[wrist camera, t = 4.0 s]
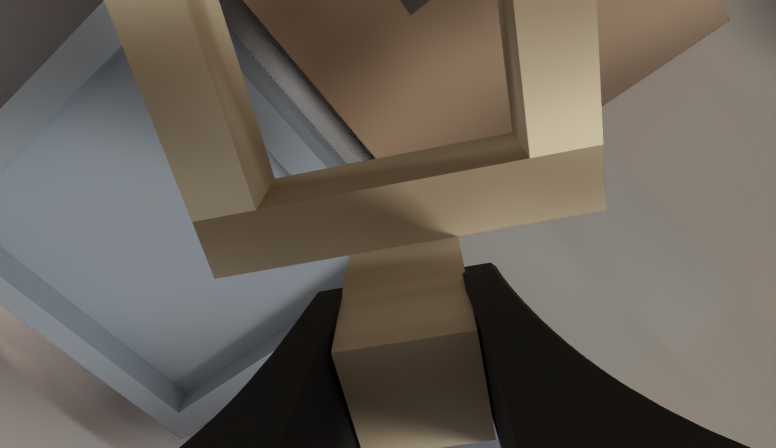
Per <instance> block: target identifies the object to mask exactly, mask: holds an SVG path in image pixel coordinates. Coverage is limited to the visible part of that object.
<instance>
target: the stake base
mask: <svg viewBox="0 0 776 448" xmlns="http://www.w3.org/2000/svg"><path fill="white" fill-rule="evenodd" d="M243 1H244V2H245V4H246V5H247V6H248V7H249V8H250V10H251V11H252V12H253V13H254V14H255V15H256V17H257V18H258V19H259V20H260V21H261V23H262V24H263V25H264V26H265V27H266V29H267V30H268V31H269V32H270V33H271V35H272V36H273V37H274V38H275V39H276V40H277V42H278V43H279V44H280V45H281V46H282V48H283V49H284V50H285V51H286V52H287V54H288V55H289V56H290V57H291V58H292V59H293V61H294V62H295V63H296V64H297V65H298V67H299V68H300V69H301V70H302V71H303V73H304V74H305V75H306V76H307V77H308V78H309V80H310V81H311V82H312V83H313V84H314V86H315V87H316V88H317V89H318V90H319V92H320V93H321V94H322V95H323V96H324V97H325V99H326V100H327V101H328V102H329V103H330V105H331V106H332V107H333V108H334V109H335V111H336V112H337V113H338V114H339V115H340V117H341V118H342V119H343V120H344V121H345V122H346V124H347V125H348V126H349V127H350V128H351V130H352V131H353V132H354V133H355V134H356V136H357V137H358V138H359V139H360V140H361V141H362V143H363V144H364V145H365V146H366V147H367V149H368V150H369V151H370V152H371V153H372V155H373V156H374V157H375V158H376V159H377V158H382V157H388V156H393V155H398V154H403V153H408V152H413V151H419V150H424V149H429V148H434V147H439V146H444V145H449V144H455V143H460V142H465V141H470V140H475V139H480V138H485V137H491V136H496V135H501V134H506V133H511V132H512V124H511V116H510V107H509V99H508V90H507V82H506V73H505V65H504V56H503V48H502V39H501V31H500V22H499V14H498V5H497V0H243ZM597 19H598V41H599V62H600V84H601V105H602V106H603V105H605V104H606V103H608V102H609V101H611V100H612V99H614V98H615V97H616V96H618V95H619V94H621V93H622V92H624V91H625V90H627V89H628V88H630V87H631V86H633V85H634V84H636V83H637V82H639V81H640V80H642V79H643V78H645V77H646V76H648V75H649V74H651V73H652V72H654V71H655V70H657V69H658V68H660V67H661V66H663V65H664V64H666V63H667V62H669V61H670V60H672V59H673V58H675V57H676V56H678V55H679V54H681V53H682V52H684V51H685V50H687V49H688V48H690V47H691V46H693V45H694V44H696V43H697V42H699V41H700V40H702V39H703V38H705V37H706V36H708V35H709V34H711V33H712V32H714V31H715V30H717V29H718V28H720V27H721V26H723V25H724V24H725V23H727V22H728V21H730V20H729V17H728V15H727V13H726V11H725V9H724V7H723V5H722V3H721V0H597Z"/></svg>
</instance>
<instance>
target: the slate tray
mask: <svg viewBox="0 0 776 448" xmlns="http://www.w3.org/2000/svg"><path fill="white" fill-rule="evenodd" d="M227 28H228V27H227ZM228 31H229V34H230V37H231V40H232V43H233V47H234V50H235V53H236V56H237V59H238V63H239V66H240V69H241V72H242V75H243V78H244V82H245V85H246V88H247V91H248V94H249V97H250V101H251V104H252V107H253V110H254V113H255V117H256V120H257V123H258V126H259V129H260V132H261V136H262V139H263V142H264V145H265V148H266V151H267V155H268V158H269V161H270V164H271V167H272V171H273V174H274V177H275V178H280V177H285V176H290V175H295V174H300V173H305V172H310V171H316V170H321V169H326V168H331V167H336V166H341V165H346V163H345V161H344V160H343V159H342V158H341V157H340V156H339V155H338V153H337V152H336V151H335V150H334V149H333V148H332V146H331V145H330V144H329V143H328V142H327V141H326V140H325V138H324V137H323V136H322V135H321V134H320V133H319V132H318V130H317V129H316V128H315V127H314V126H313V125H312V124H311V122H310V121H309V120H308V119H307V118H306V117H305V115H304V114H303V113H302V112H301V111H300V110H299V109H298V107H297V106H296V105H295V104H294V103H293V102H292V101H291V99H290V98H289V97H288V96H287V95H286V94H285V93H284V91H283V90H282V89H281V88H280V87H279V86H278V84H277V83H276V82H275V81H274V80H273V79H272V78H271V76H270V75H269V74H268V73H267V72H266V71H265V70H264V68H263V67H262V66H261V65H260V64H259V63H258V62H257V60H256V59H255V58H254V57H253V56H252V55H251V53H250V52H249V51H248V50H247V49H246V48H245V47H244V45H243V44H242V43H241V42H240V41H239V40H238V39H237V37H236V36H235V35H234V34H233V33H232V32H231V31H230V29H229V28H228ZM348 258H349V255H348V256H342V257H337V258H331V259H325V260H320V261H314V262H308V263H303V264H297V265H291V266H286V267H280V268H274V269H268V270H263V271H257V272H251V273H246V274H240V275H234V276H229V277H223V278H217V279H214V276H213V274H212V271H211V269H210V266H209V264H208V261H207V259H206V256H205V254H204V251H203V249H202V246H201V244H200V241H199V239H198V236H197V234H196V231H195V228H194V226H193V223H192V221H191V218H190V216H189V213H188V211H187V208H186V206H185V203H184V201H183V198H182V196H181V193H180V191H179V188H178V186H177V183H176V181H175V178H174V175H173V173H172V170H171V168H170V165H169V163H168V160H167V158H166V155H165V153H164V150H163V148H162V145H161V143H160V140H159V138H158V135H157V133H156V130H155V128H154V125H153V123H152V120H151V117H150V115H149V112H148V110H147V107H146V105H145V102H144V100H143V97H142V95H141V92H140V90H139V87H138V85H137V82H136V80H135V77H134V75H133V72H132V70H131V67H130V64H129V62H128V59H127V57H126V54H125V52H124V49H123V47H122V44H121V42H120V39H119V37H118V34H117V32H116V29H115V27H114V24H113V22H112V19H111V17H110V14H109V11H108V9H107V6H106V4H105V1H103V2H102V3H101V4H100V5H99V6H98V7H97V8H96V9H95V10H94V11H93V12H92V13H91V14H90V15H89V16H88V17H87V18H86V19H85V20H84V22H83V23H82V24H81V25H80V26H79V27H78V28H77V29H76V30H75V31H74V32H73V33H72V34H71V35H70V36H69V37H68V38H67V39H66V40H65V41H64V42H63V44H62V45H61V46H60V47H59V48H58V49H57V50H56V51H55V52H54V53H53V54H52V55H51V56H50V57H49V58H48V59H47V60H46V61H45V62H44V63H43V65H42V66H41V67H40V68H39V69H38V70H37V71H36V72H35V73H34V74H33V75H32V76H31V77H30V78H29V79H28V80H27V81H26V82H25V83H24V84H23V85H22V87H21V88H20V89H19V90H18V91H17V92H16V93H15V94H14V95H13V96H12V97H11V98H10V99H9V100H8V101H7V102H6V103H5V104H4V105H3V106H2V107H1V109H0V305H1V306H2V307H4V308H5V309H6V310H8V311H9V312H10V313H12V314H13V315H14V316H16V317H17V318H19V319H20V320H21V321H23V322H24V323H25V324H27V325H28V326H29V327H31V328H32V329H33V330H35V331H36V332H37V333H39V334H40V335H41V336H43V337H44V338H45V339H47V340H48V341H49V342H51V343H52V344H54V345H55V346H56V347H58V348H59V349H60V350H62V351H63V352H64V353H66V354H67V355H68V356H70V357H71V358H72V359H74V360H75V361H76V362H78V363H79V364H80V365H82V366H83V367H84V368H86V369H87V370H89V371H90V372H91V373H93V374H94V375H95V376H97V377H98V378H99V379H101V380H102V381H103V382H105V383H106V384H107V385H109V386H110V387H111V388H113V389H114V390H115V391H117V392H118V393H119V394H121V395H122V396H124V397H125V398H126V399H128V400H129V401H130V402H132V403H133V404H134V405H136V406H137V407H138V408H140V409H141V410H142V411H144V412H145V413H146V414H148V415H149V416H150V417H152V418H153V419H154V420H156V421H157V422H159V423H160V424H161V425H163V426H164V427H165V428H167V429H168V430H169V431H171V432H172V433H173V434H175V435H176V436H177V437H179V438H180V439H181V438H183V437H184V436H186V435H188V434H189V433H191V432H192V431H194V430H195V429H197V428H199V427H200V426H202V425H203V424H205V423H207V422H208V421H210V420H211V419H213V418H214V417H215V416H216V415H217V414H218V413H219V412H220V411H221V410H222V409H223V408H224V407H225V406H226V405H227V404H228V403H229V402H230V401H231V400H232V399H233V398H234V397H235V396H236V395H237V394H238V393H239V391H240V390H241V389H242V388H243V387H244V386H245V385H246V384H247V383H248V381H249V380H250V379H251V378H252V377H253V375H254V374H255V373H256V372H257V371H258V370H259V368H260V367H261V366H262V365H263V364H264V363H265V361H266V360H267V359H268V358H269V357H270V355H271V354H272V353H273V352H274V350H275V349H276V348H277V347H278V345H279V344H280V343H281V341H282V340H283V339H284V337H285V336H286V335H287V334H288V332H289V331H290V329H291V328H292V327H293V325H294V324H295V323H296V321H297V320H298V319H299V317H300V316H301V314H302V313H303V312H304V310H305V309H306V308H307V306H308V305H309V304H310V302H311V301H312V300H313V298H314V297H315V296H316V294H317V293H318V292H320V291H325V290H331V289H337V288H343V285H344V280H345V275H346V269H347V264H348Z"/></svg>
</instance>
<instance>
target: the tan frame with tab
mask: <svg viewBox="0 0 776 448" xmlns="http://www.w3.org/2000/svg"><path fill="white" fill-rule="evenodd" d="M104 1H105V4H106V6H107V9H108V11H109V14H110V17H111V19H112V22H113V24H114V27H115V29H116V32H117V34H118V37H119V39H120V42H121V44H122V47H123V49H124V52H125V54H126V57H127V59H128V62H129V64H130V67H131V70H132V72H133V75H134V77H135V80H136V82H137V85H138V87H139V90H140V92H141V95H142V97H143V100H144V102H145V105H146V107H147V110H148V112H149V115H150V117H151V120H152V123H153V125H154V128H155V130H156V133H157V135H158V138H159V140H160V143H161V145H162V148H163V150H164V153H165V155H166V158H167V160H168V163H169V165H170V168H171V170H172V173H173V175H174V178H175V181H176V183H177V186H178V188H179V191H180V193H181V196H182V198H183V201H184V203H185V206H186V208H187V211H188V213H189V216H190V218H191V221H192V223H193V226H194V228H195V231H196V234H197V236H198V239H199V241H200V244H201V246H202V249H203V251H204V254H205V256H206V259H207V261H208V264H209V266H210V269H211V271H212V274H213V276H214V279H217V278H223V277H229V276H234V275H240V274H246V273H251V272H257V271H263V270H268V269H274V268H280V267H286V266H291V265H297V264H303V263H308V262H314V261H320V260H325V259H331V258H337V257H342V256H348V255H349V258H348V264H347V269H346V275H345V280H344V285H343V291H342V293H343V295H342V300H341V306H340V311H339V314H338V318H337V324H336V329H335V334H334V340H333V345H332V351H331V354H332V358H333V361H334V364H335V367H336V370H337V374H338V377H339V380H340V383H341V386H342V389H343V393H344V396H345V399H346V402H347V405H348V409H349V412H350V415H351V418H352V421H353V425H354V428H355V431H356V434H357V437H358V440H359V444H360V447H361V448H440V447H448V446H455V445H463V444H470V443H477V442H485V441H492V440H496V436H495V431H494V425H493V419H492V413H491V407H490V401H489V396H488V390H487V384H486V378H485V372H484V366H483V361H482V355H481V349H480V343H479V337H478V332H477V326H476V322H475V317H474V312H473V308H472V306H471V303H470V300H469V298H468V295H467V292H466V289H465V284H464V279H463V274H462V273H464V272H465V269H464V264H463V259H462V254H461V249H460V245H459V240H458V236H462V235H468V234H473V233H479V232H485V231H490V230H496V229H502V228H507V227H513V226H519V225H524V224H530V223H536V222H541V221H547V220H553V219H559V218H564V217H570V216H576V215H581V214H587V213H593V212H598V211H604V210H606V190H605V169H604V148H603V126H602V105H601V84H600V62H599V41H598V19H597V0H497V5H498V14H499V22H500V31H501V39H502V48H503V56H504V65H505V73H506V82H507V90H508V99H509V107H510V116H511V124H512V132H511V133H506V134H501V135H496V136H491V137H485V138H480V139H475V140H470V141H465V142H460V143H455V144H449V145H444V146H439V147H434V148H429V149H424V150H419V151H413V152H408V153H403V154H398V155H393V156H388V157H382V158H377V159H372V160H367V161H362V162H357V163H352V164H346V165H341V166H336V167H331V168H326V169H321V170H316V171H310V172H305V173H300V174H295V175H290V176H285V177H280V178H275V177H274V174H273V171H272V167H271V164H270V161H269V158H268V155H267V151H266V148H265V145H264V142H263V139H262V136H261V132H260V129H259V126H258V123H257V120H256V117H255V113H254V110H253V107H252V104H251V101H250V97H249V94H248V91H247V88H246V85H245V82H244V78H243V75H242V72H241V69H240V66H239V63H238V59H237V56H236V53H235V50H234V47H233V43H232V40H231V37H230V34H229V31H228V28H227V24H226V21H225V18H224V15H223V12H222V9H221V5H220V2H219V0H104Z"/></svg>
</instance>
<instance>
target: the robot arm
mask: <svg viewBox="0 0 776 448" xmlns="http://www.w3.org/2000/svg"><path fill="white" fill-rule="evenodd" d="M464 269H465V272H464V273H462V274H463V279H464V284H465V289H466V292H467V295H468V298H469V300H470V303H471V306H472V308H473V312H474V317H475V322H476V326H477V332H478V337H479V343H480V349H481V355H482V361H483V366H484V372H485V378H486V384H487V390H488V396H489V401H490V407H491V413H492V419H493V425H494V431H495V436H496V440H492V441H485V442H477V443H470V444H463V445H455V446H448V447H440V448H750V447H748V446H745V445H743V444H741V443H738V442H736V441H733V440H731V439H729V438H726V437H724V436H722V435H719V434H717V433H714V432H712V431H710V430H708V429H706V428H703V427H701V426H699V425H697V424H695V423H693V422H691V421H689V420H687V419H685V418H683V417H681V416H679V415H677V414H675V413H673V412H671V411H669V410H667V409H666V408H664V407H662V406H660V405H658V404H657V403H655V402H653V401H651V400H650V399H648V398H646V397H645V396H643V395H641V394H640V393H638V392H636V391H634V390H633V389H631V388H629V387H628V386H626V385H624V384H623V383H621V382H620V381H618V380H617V379H615V378H614V377H612V376H611V375H609V374H608V373H606V372H605V371H603V370H602V369H600V368H599V367H598V366H596V365H595V364H594V363H592V362H591V361H590V360H588V359H587V358H585V357H584V356H583V355H582V354H580V353H579V352H578V351H577V350H575V349H574V348H573V347H572V346H570V345H569V344H568V343H567V342H566V341H564V340H563V339H562V338H561V337H560V336H559V335H558V334H557V333H555V332H554V331H553V330H552V329H551V328H550V327H549V326H548V325H547V324H546V323H544V322H543V321H542V320H541V319H540V318H539V317H538V316H537V315H536V314H535V313H534V312H533V311H532V310H531V309H530V308H529V306H528V305H527V304H526V303H525V302H524V301H523V300H522V299H521V298H520V297H519V296H518V295H517V293H516V292H515V291H514V290H513V289H512V288H511V286H510V285H509V284H508V283H507V281H506V280H505V279H504V278H503V276H502V275H501V273H500V272H499V270H498V269H497V267H496V266H495V265H493V264H492V263H485V264H479V265H474V266H468V267H464ZM342 291H343V288H337V289H331V290H325V291H320V292H318V293H317V294H316V296H315V297H314V298H313V300H312V301H311V302H310V304H309V305H308V306H307V308H306V309H305V310H304V312H303V313H302V314H301V316H300V317H299V319H298V320H297V321H296V323H295V324H294V325H293V327H292V328H291V329H290V331H289V332H288V334H287V335H286V336H285V337H284V339H283V340H282V341H281V343H280V344H279V345H278V347H277V348H276V349H275V350H274V352H273V353H272V354H271V355H270V357H269V358H268V359H267V360H266V361H265V363H264V364H263V365H262V366H261V367H260V368H259V370H258V371H257V372H256V373H255V374H254V375H253V377H252V378H251V379H250V380H249V381H248V383H247V384H246V385H245V386H244V387H243V388H242V389H241V390H240V391H239V393H238V394H237V395H236V396H235V397H234V398H233V399H232V400H231V401H230V402H229V403H228V404H227V405H226V406H225V407H224V408H223V409H222V410H221V411H220V412H219V413H218V414H217V415H216V416H215V417H214V418H213V419H212V420H211V421H209V422H208V423H207V424H206V425H205V426H204V427H203V428H202V429H201V430H200V431H198V432H197V433H196V434H195V435H194V436H193V437H191V438H190V439H189V440H188V441H187V442H186V443H184V444H183V445H182V446H181V447H180V448H361V447H360V444H359V440H358V437H357V434H356V431H355V428H354V425H353V421H352V418H351V415H350V412H349V409H348V405H347V402H346V399H345V396H344V393H343V389H342V386H341V383H340V380H339V377H338V374H337V370H336V367H335V364H334V361H333V358H332V354H331V351H332V345H333V340H334V334H335V329H336V324H337V318H338V314H339V311H340V306H341V300H342V295H343V293H342Z"/></svg>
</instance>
